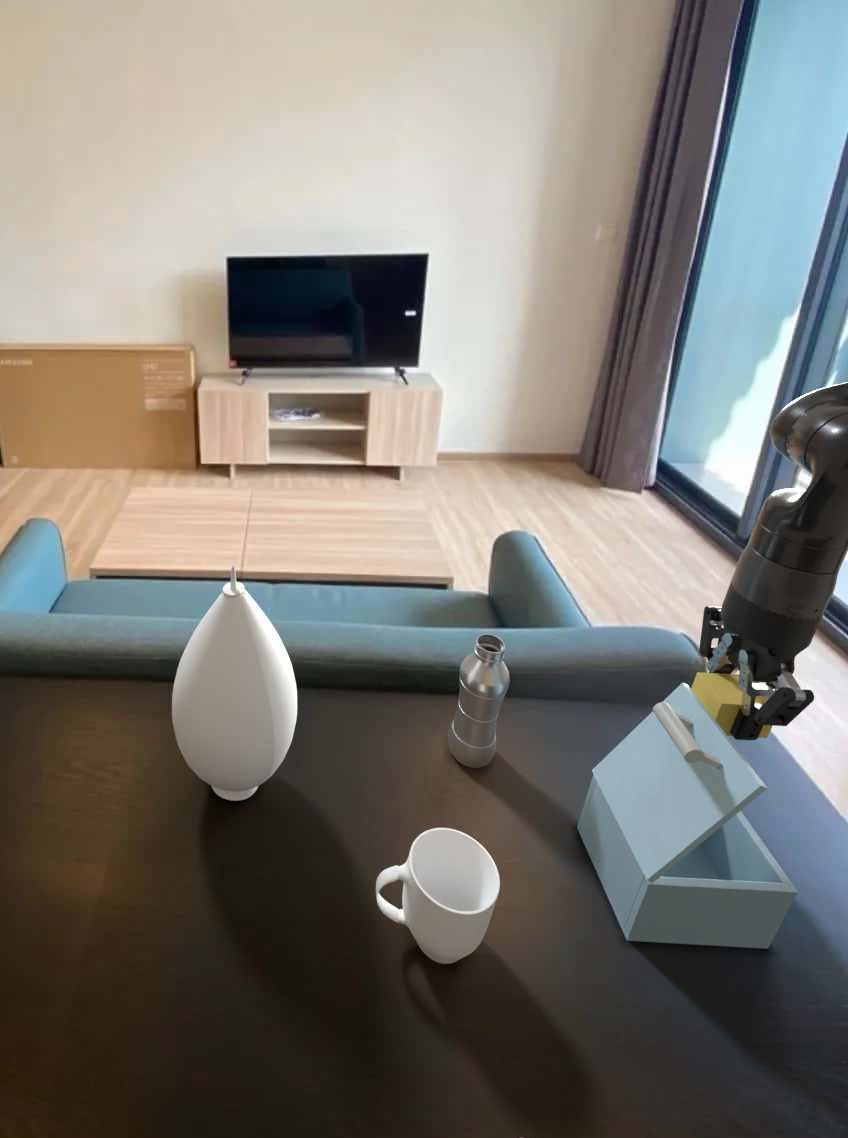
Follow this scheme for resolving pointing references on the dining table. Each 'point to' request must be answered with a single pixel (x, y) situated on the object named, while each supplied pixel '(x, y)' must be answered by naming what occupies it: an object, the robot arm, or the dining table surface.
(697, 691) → the sponge
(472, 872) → the mug
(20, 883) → the dining table surface
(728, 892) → the light blue box
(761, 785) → the box lid
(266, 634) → the lamp
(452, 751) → the silver metal bottle
